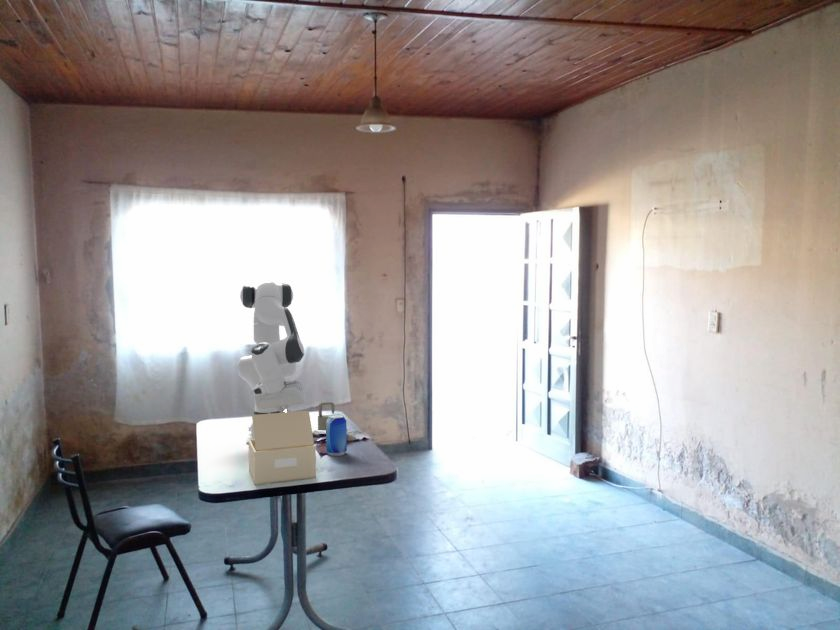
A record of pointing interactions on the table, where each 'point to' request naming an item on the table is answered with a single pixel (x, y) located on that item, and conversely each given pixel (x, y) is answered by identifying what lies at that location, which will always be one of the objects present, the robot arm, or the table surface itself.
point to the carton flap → (282, 430)
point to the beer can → (336, 435)
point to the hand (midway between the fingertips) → (286, 414)
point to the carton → (282, 464)
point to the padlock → (323, 418)
